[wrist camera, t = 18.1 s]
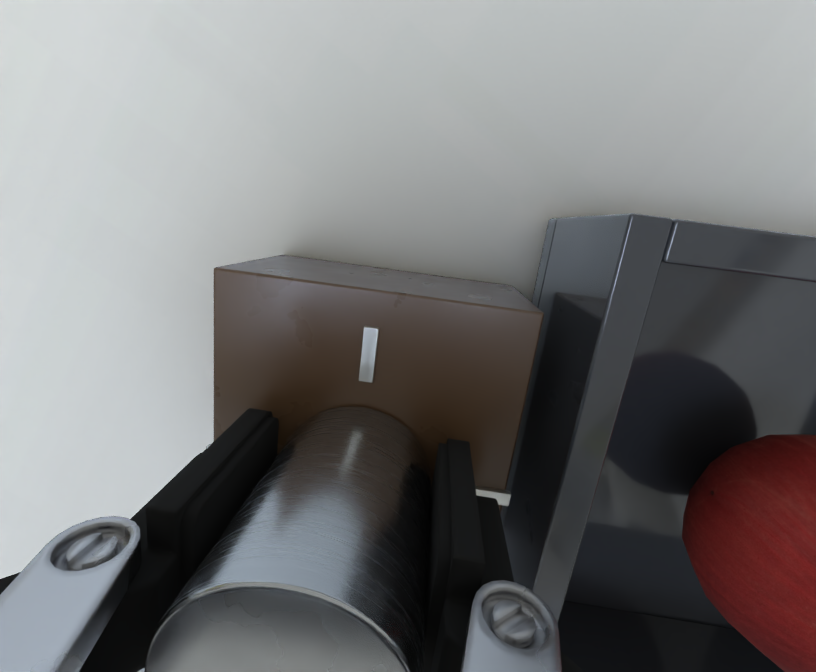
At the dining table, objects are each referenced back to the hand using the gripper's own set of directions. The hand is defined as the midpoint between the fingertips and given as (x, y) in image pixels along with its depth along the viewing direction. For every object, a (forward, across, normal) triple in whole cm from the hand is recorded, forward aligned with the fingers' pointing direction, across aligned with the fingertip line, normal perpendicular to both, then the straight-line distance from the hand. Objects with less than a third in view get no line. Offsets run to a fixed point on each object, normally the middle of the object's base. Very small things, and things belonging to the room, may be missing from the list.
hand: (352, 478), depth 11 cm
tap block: (+5, 0, 0) cm, 5 cm away
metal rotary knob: (0, 0, 0) cm, 0 cm away
